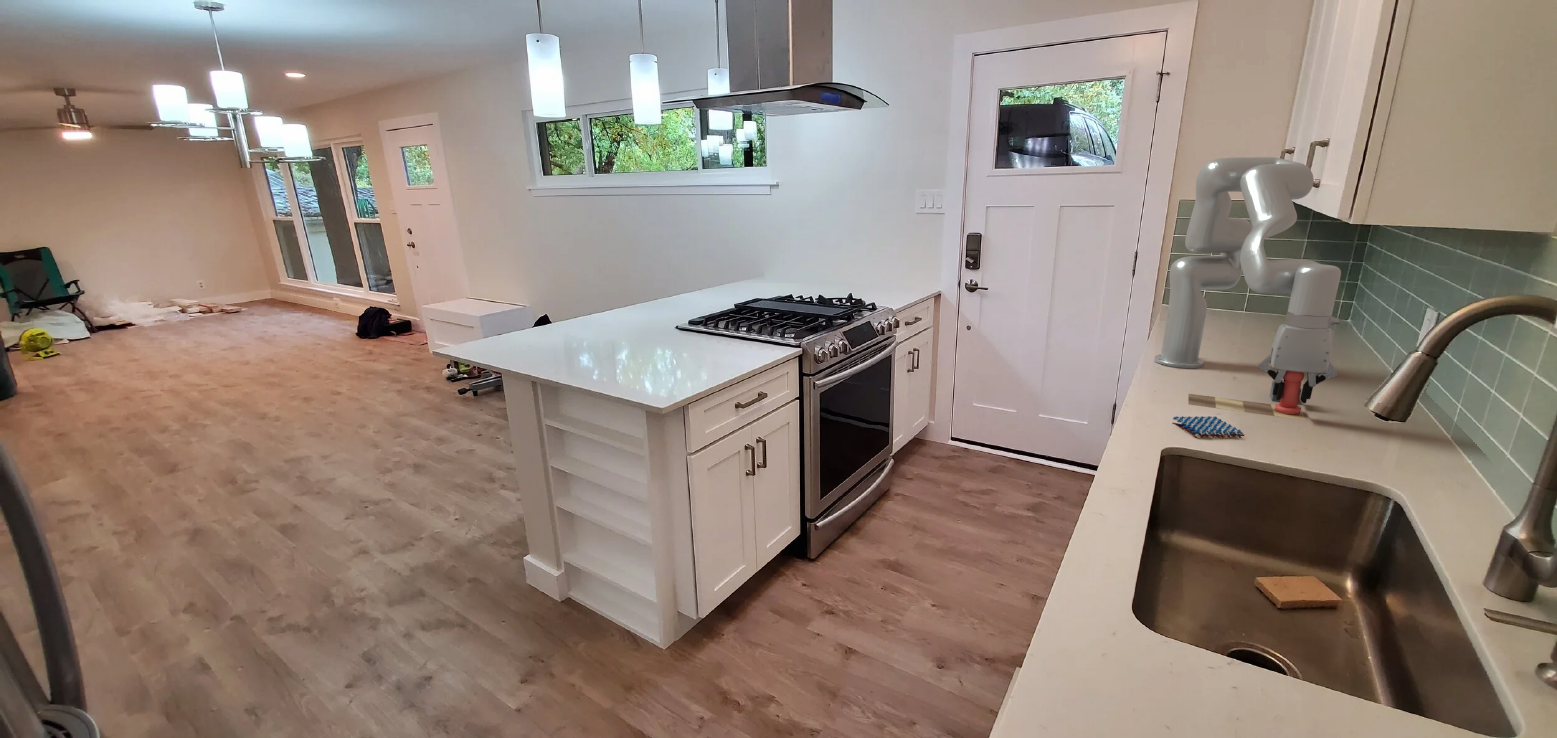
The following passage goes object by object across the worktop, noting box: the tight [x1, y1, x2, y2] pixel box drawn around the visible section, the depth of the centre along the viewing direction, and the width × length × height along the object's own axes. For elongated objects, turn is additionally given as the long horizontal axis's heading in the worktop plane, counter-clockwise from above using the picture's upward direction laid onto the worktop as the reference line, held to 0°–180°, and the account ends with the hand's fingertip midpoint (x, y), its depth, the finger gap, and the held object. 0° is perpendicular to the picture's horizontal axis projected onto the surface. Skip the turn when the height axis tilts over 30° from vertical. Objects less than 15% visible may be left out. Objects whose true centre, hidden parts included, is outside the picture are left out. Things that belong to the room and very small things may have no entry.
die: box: [1269, 380, 1302, 404], centre depth 152 cm, size 5×5×5 cm
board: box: [1187, 393, 1306, 421], centre depth 149 cm, size 9×22×1 cm, turn 58°
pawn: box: [1275, 371, 1305, 414], centre depth 143 cm, size 5×5×10 cm
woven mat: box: [1172, 415, 1245, 440], centre depth 138 cm, size 10×11×2 cm
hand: (1290, 399), depth 144 cm, fingers open, 4 cm apart
